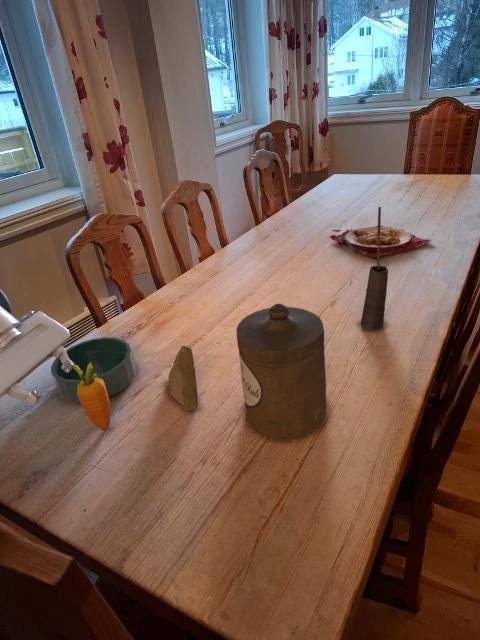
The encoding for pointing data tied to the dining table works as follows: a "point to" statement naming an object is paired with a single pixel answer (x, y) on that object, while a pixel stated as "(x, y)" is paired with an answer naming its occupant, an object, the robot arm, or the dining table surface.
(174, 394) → the rock
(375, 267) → the butter churn
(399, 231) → the plate with food
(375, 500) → the dining table surface
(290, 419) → the wooden container
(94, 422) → the carrot
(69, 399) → the bowl
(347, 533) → the dining table surface
